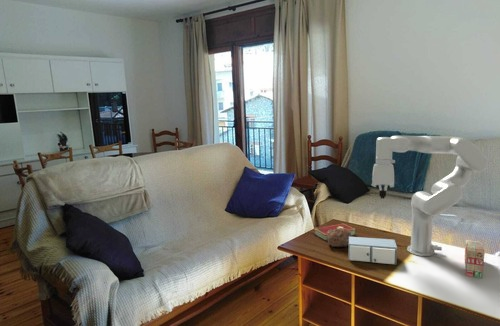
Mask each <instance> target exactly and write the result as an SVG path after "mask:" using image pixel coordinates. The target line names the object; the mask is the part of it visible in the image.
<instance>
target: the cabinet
mask: <svg viewBox="0 0 500 326" xmlns="http://www.w3.org/2000/svg"><path fill="white" fill-rule="evenodd" d="M373 247H375V248H387V249H395V248H397V249H398V246H397V244H396V240H395V239H391V238H390V239H388V238H378V237H377V238H375V237H361V236H352V237H349V243H348V261H354V262H364V263H365V262H366V263H373V262H372V249H373ZM393 265H395V263H394V264H393Z"/></svg>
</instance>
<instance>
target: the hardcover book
mask: <svg viewBox="0 0 500 326" xmlns="http://www.w3.org/2000/svg"><path fill="white" fill-rule="evenodd" d="M341 228H342V229H343V228H345V229H348V230H349V231H350V233H351V236H355V232H356V228H353V227H352V226H350V225H348V224H345V223H338V224H333V225H329V226H322V227H316V228H314V229H313V234H314V235H316V236H317V237H318V238H320V239H322V240H324V241H328V237H327V235H326V234H327V232H328V230H331V229H341Z"/></svg>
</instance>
